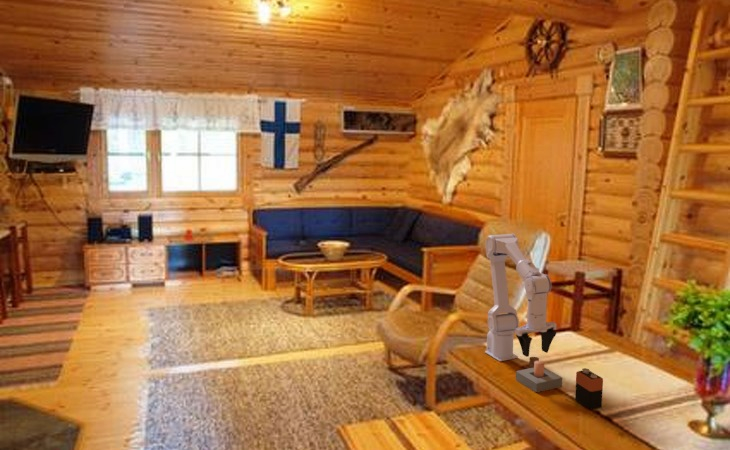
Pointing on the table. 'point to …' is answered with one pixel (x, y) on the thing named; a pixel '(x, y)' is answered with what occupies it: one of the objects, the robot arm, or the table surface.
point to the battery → (589, 389)
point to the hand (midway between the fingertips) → (535, 353)
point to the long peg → (539, 369)
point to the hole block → (538, 380)
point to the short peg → (532, 361)
